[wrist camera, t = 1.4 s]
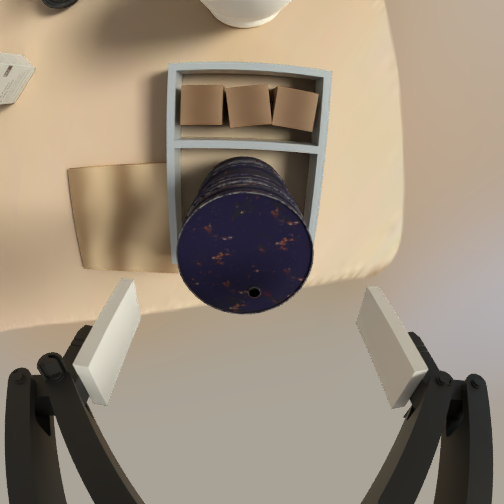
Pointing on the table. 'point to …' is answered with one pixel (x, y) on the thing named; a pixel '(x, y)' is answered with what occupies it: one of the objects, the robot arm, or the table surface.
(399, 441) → the robot arm
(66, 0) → the milk frother
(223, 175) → the rusty oil drum
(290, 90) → the block
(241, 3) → the jar
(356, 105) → the table surface
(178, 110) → the tray
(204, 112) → the block
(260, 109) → the block
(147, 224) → the mat
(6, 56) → the skincare box
